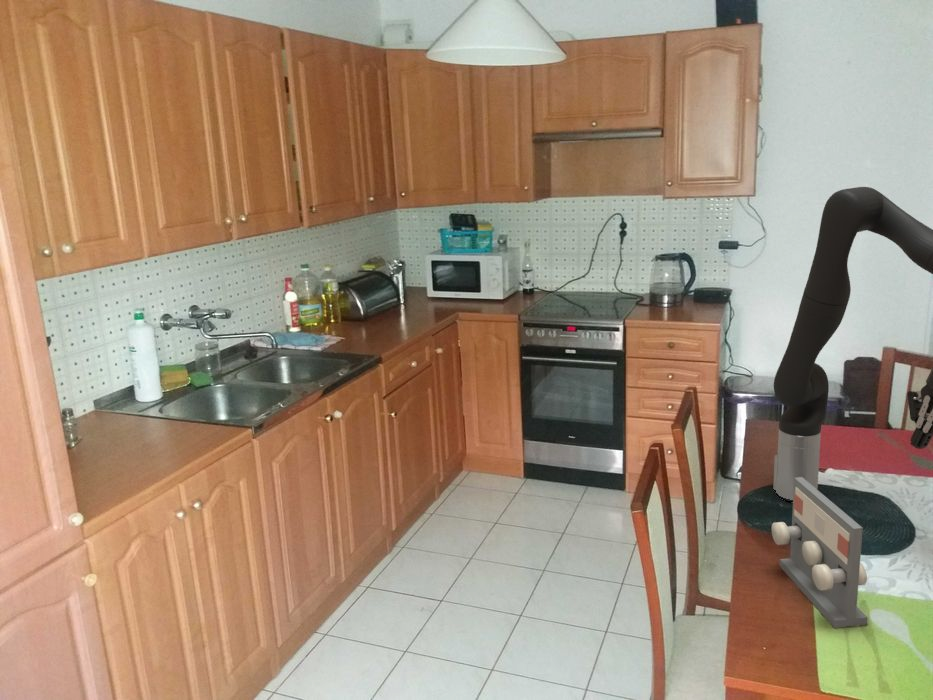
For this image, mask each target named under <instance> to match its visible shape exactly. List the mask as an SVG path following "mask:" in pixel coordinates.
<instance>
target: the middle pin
mask: <svg viewBox="0 0 933 700" xmlns="http://www.w3.org/2000/svg"><path fill="white" fill-rule="evenodd" d="M802 552H803V557H804V559H805V561H806V563H807V564H808V565H819V564H821V562H822V559H823V548H822V547H820V546H819V544H818V543H817V542H816V541H805V542H804V543H803V545H802Z"/></svg>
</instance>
